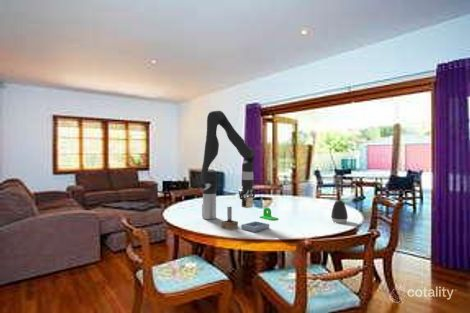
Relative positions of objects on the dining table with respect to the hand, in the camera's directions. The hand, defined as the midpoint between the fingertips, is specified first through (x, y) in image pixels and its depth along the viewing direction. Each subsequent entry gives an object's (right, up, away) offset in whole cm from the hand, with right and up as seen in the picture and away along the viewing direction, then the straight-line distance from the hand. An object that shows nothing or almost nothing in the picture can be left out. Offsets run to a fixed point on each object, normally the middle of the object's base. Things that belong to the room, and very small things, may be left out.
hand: (247, 205), depth 186 cm
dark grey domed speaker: (+61, -13, +8) cm, 63 cm away
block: (0, -1, 0) cm, 1 cm away
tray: (+5, -13, -9) cm, 16 cm away
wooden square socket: (-11, -13, -6) cm, 18 cm away
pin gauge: (-11, -12, -6) cm, 17 cm away
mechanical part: (+16, -13, +18) cm, 27 cm away
